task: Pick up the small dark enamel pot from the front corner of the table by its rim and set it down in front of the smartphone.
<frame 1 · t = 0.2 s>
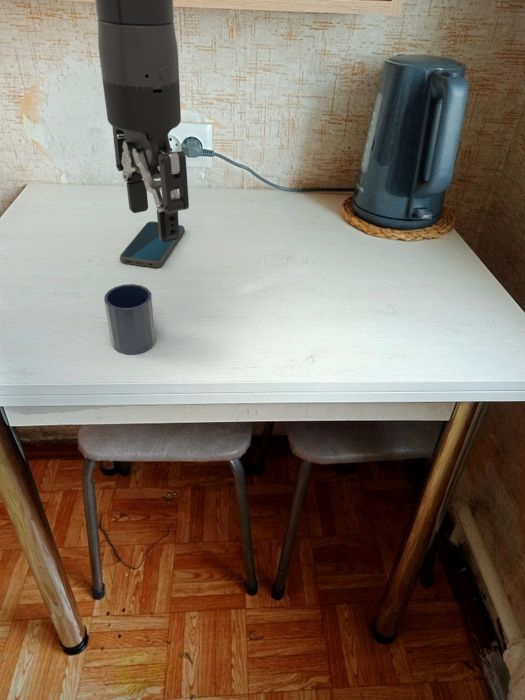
hand: (153, 224, 61), 18 cm above the table, tool pointing down, fingers open, 8 cm apart
pot: (134, 341, 71), on the table
smartphone: (154, 246, 93), on the table
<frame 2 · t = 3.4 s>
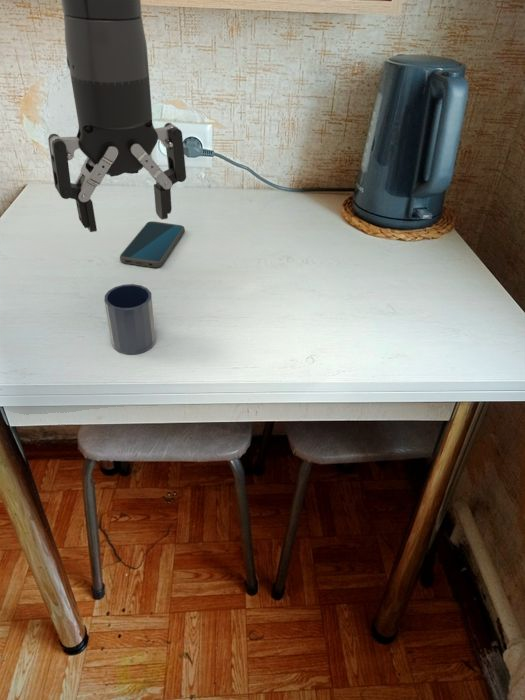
hand: (128, 222, 60), 18 cm above the table, tool pointing down, fingers open, 8 cm apart
nothing on the table moved.
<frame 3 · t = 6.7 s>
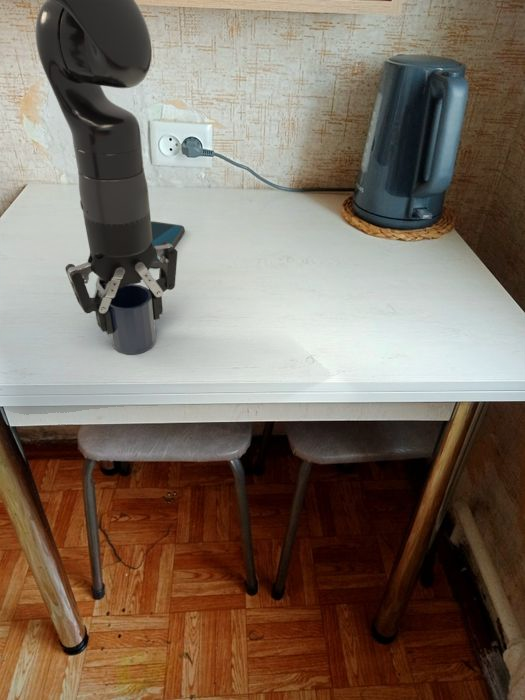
hand: (131, 323, 69), 3 cm above the table, tool pointing down, fingers closed on pot, 6 cm apart
pot: (134, 341, 71), on the table, touching gripper
everything else where it was.
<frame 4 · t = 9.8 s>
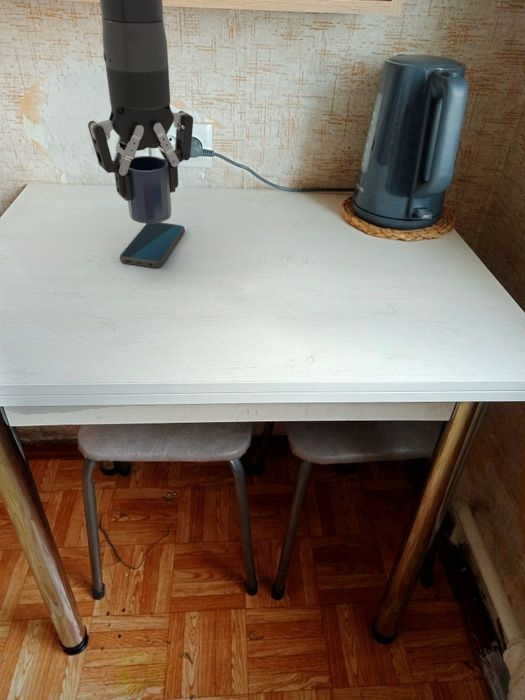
hand: (149, 194, 73), 15 cm above the table, tool pointing down, fingers closed on pot, 6 cm apart
pot: (150, 214, 75), point 12 cm above the table, touching gripper
everything else where it was.
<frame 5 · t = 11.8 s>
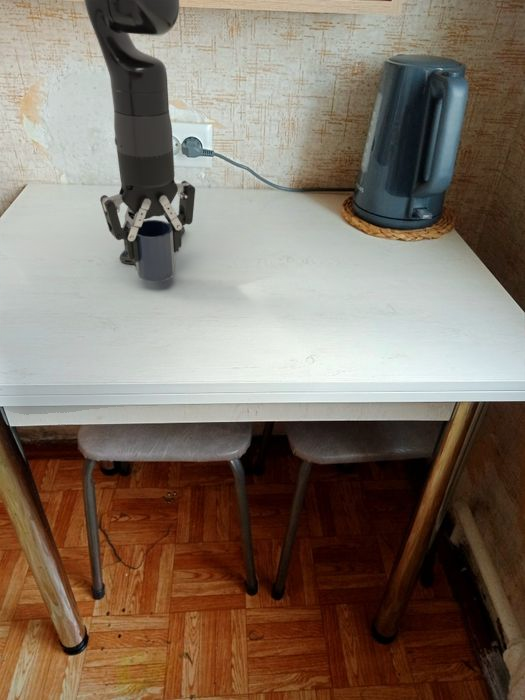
hand: (154, 254, 79), 5 cm above the table, tool pointing down, fingers closed on pot, 6 cm apart
pot: (156, 271, 81), point 2 cm above the table, touching gripper
everything else where it was.
when the fingers open (3 cm above the table, at t = 13.1 s): pot stays where it is, on the table.
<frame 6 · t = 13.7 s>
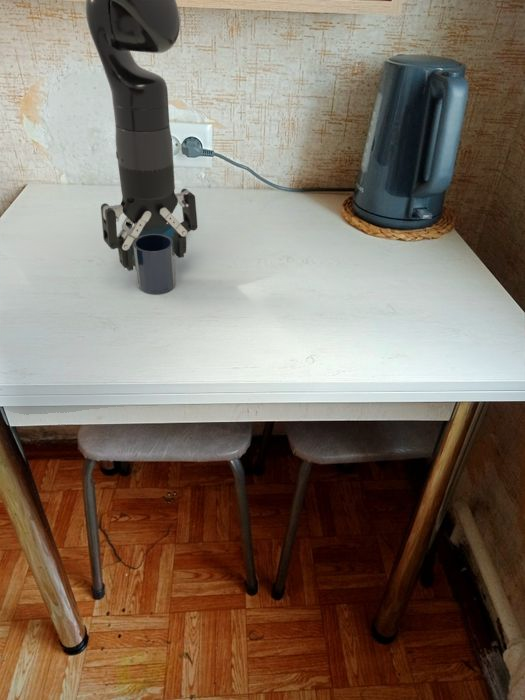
hand: (154, 261, 80), 4 cm above the table, tool pointing down, fingers open, 8 cm apart
pot: (156, 284, 83), on the table
everything else where it was.
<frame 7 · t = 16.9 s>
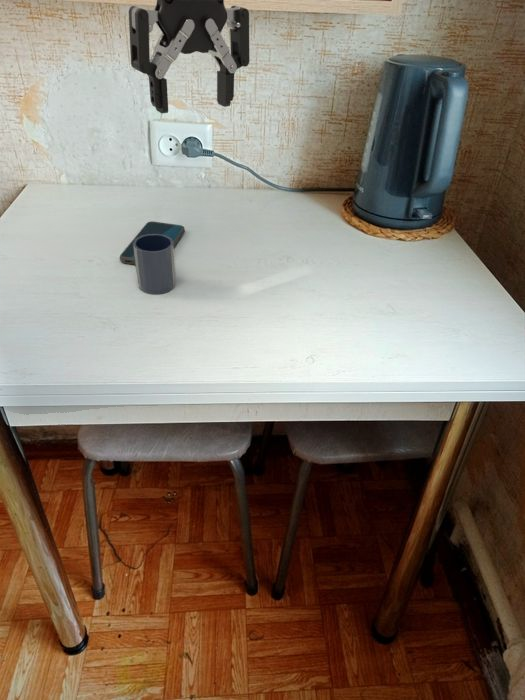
hand: (193, 108, 63), 28 cm above the table, tool pointing down, fingers open, 8 cm apart
nothing on the table moved.
at the end: pot inside the target area on the table beside the smartphone (0.0 cm from its centre), on the table; pot tilted 0°; the gripper is holding nothing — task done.
